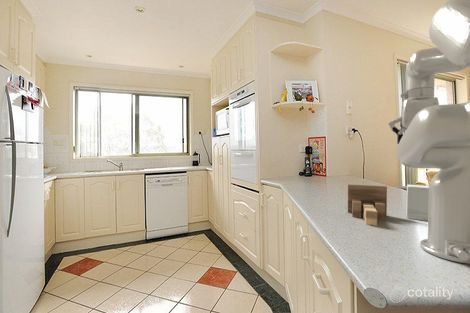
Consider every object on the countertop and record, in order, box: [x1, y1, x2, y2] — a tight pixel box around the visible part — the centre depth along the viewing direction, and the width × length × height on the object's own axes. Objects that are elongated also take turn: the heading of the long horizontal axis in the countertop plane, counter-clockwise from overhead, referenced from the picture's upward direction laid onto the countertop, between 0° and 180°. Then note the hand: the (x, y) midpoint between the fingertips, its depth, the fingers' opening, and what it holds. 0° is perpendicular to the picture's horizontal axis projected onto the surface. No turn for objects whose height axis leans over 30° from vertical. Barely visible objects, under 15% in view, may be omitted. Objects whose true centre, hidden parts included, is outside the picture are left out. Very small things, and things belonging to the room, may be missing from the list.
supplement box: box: [405, 184, 429, 222], centre depth 88 cm, size 7×7×13 cm
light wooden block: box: [361, 203, 378, 227], centre depth 86 cm, size 12×4×5 cm, turn 155°
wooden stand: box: [347, 183, 388, 221], centre depth 91 cm, size 8×14×12 cm, turn 65°
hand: (418, 145), depth 77 cm, fingers open, 9 cm apart
